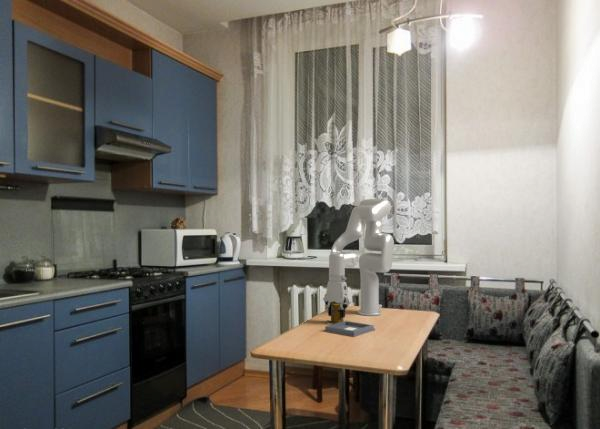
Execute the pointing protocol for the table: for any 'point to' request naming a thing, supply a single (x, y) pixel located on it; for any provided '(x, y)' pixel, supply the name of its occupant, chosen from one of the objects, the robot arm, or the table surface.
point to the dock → (349, 328)
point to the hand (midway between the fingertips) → (336, 316)
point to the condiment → (335, 313)
